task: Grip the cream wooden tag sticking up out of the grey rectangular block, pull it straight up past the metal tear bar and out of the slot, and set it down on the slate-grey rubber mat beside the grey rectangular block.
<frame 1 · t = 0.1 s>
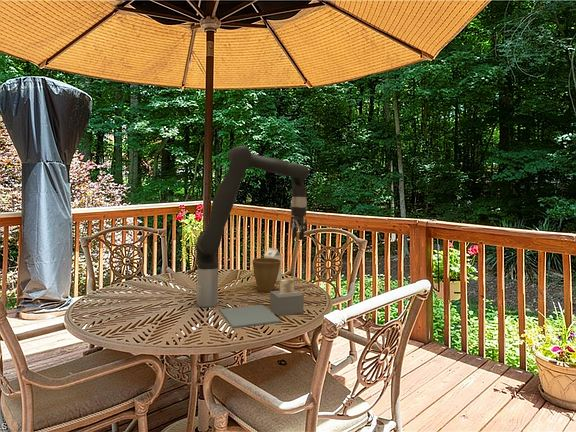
hand: (297, 238, 202), 29 cm above the table, tool pointing down, fingers open, 8 cm apart
mat: (248, 316, 172), on the table
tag: (286, 306, 181), point 2 cm above the table, touching grey rectangular block
milk carton: (272, 281, 233), on the table
plant pot: (265, 290, 214), on the table
grey rectangular block: (286, 310, 181), on the table
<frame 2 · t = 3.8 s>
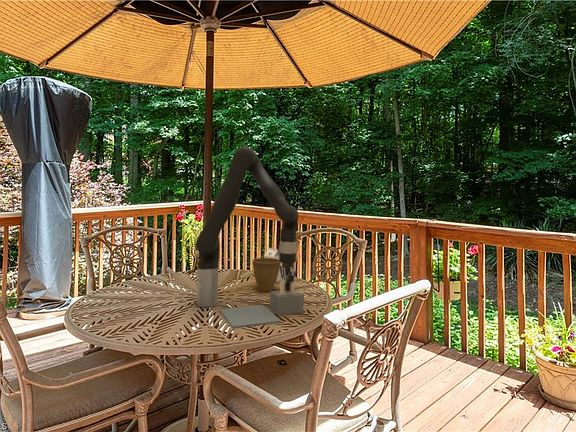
hand: (286, 289, 180), 10 cm above the table, tool pointing down, fingers closed on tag, 1 cm apart
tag: (286, 306, 181), point 2 cm above the table, touching gripper
everything else where it was.
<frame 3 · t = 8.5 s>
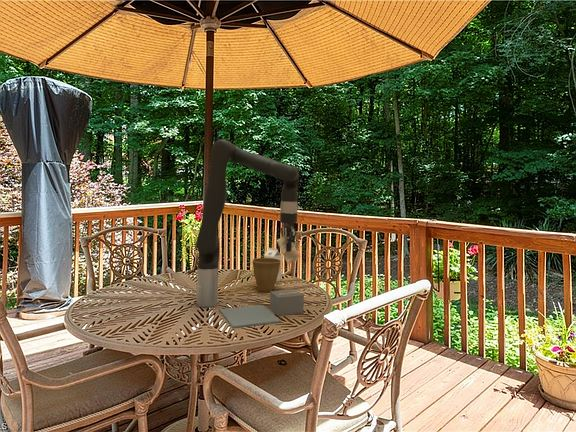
hand: (287, 250, 178), 27 cm above the table, tool pointing down, fingers closed on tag, 1 cm apart
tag: (293, 260, 180), point 22 cm above the table, tilted 27°, touching gripper
everything else where it was.
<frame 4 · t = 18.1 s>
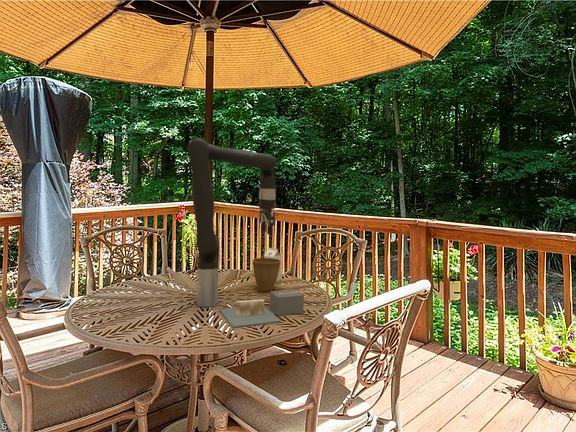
hand: (266, 233, 189), 33 cm above the table, tool pointing down, fingers open, 8 cm apart
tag: (263, 306, 173), point 4 cm above the table, tilted 90°, touching mat
everything else where it was.
at the end: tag inside the target area (6.2 cm from its centre), point 3.8 cm above the table; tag touching mat; the gripper is holding nothing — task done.
